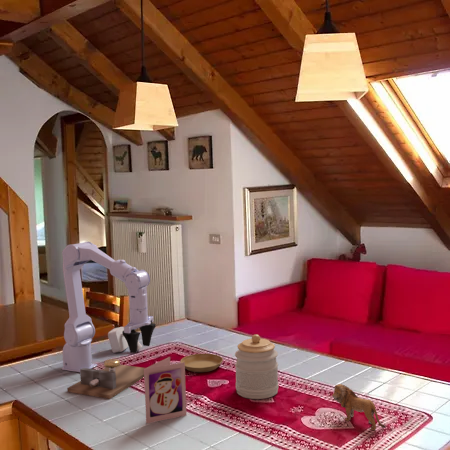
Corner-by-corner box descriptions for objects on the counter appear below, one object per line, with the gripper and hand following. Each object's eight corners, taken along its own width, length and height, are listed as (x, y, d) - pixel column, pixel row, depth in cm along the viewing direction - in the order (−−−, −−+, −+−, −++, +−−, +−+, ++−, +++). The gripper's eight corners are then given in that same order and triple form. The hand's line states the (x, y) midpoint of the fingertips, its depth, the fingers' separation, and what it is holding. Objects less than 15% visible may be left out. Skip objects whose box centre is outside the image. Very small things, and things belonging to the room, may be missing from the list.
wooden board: (67, 391, 174) (66, 372, 174) (113, 366, 196) (112, 350, 195) (109, 399, 168) (108, 379, 167) (152, 372, 189) (152, 355, 189)
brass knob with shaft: (85, 385, 174) (84, 371, 173) (110, 372, 185) (110, 358, 185) (98, 388, 171) (98, 373, 171) (123, 373, 183) (122, 359, 183)
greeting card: (147, 424, 149) (144, 369, 148) (139, 414, 156) (137, 361, 155) (187, 416, 154) (185, 363, 153) (178, 406, 161) (176, 355, 159)
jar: (283, 385, 174) (281, 330, 173) (272, 402, 162) (271, 342, 160) (243, 381, 178) (241, 327, 177) (230, 397, 166) (228, 339, 165)
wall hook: (139, 353, 208) (132, 327, 208) (114, 358, 211) (107, 333, 210) (146, 346, 216) (139, 322, 216) (122, 352, 219) (115, 327, 218)
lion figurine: (329, 418, 150) (329, 385, 149) (339, 411, 154) (338, 379, 154) (381, 433, 141) (381, 398, 140) (390, 425, 145) (390, 392, 144)
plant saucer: (198, 378, 183) (198, 370, 183) (172, 367, 194) (171, 360, 194) (232, 367, 193) (231, 359, 193) (204, 357, 204) (204, 350, 204)
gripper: (136, 314, 173) (138, 357, 174) (160, 304, 186) (162, 343, 188) (117, 312, 176) (119, 354, 177) (142, 302, 189) (144, 341, 191)
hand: (140, 349), depth 183 cm, fingers open, 7 cm apart
